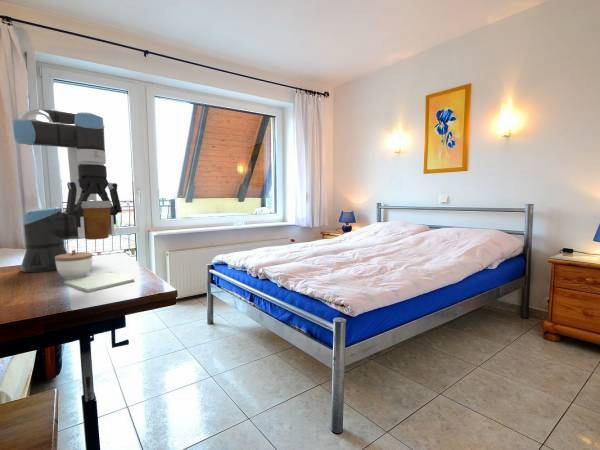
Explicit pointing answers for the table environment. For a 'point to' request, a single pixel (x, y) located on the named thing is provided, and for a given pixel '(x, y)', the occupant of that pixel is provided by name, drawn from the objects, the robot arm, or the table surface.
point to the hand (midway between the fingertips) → (96, 235)
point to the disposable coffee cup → (96, 219)
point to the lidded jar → (74, 264)
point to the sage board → (98, 281)
